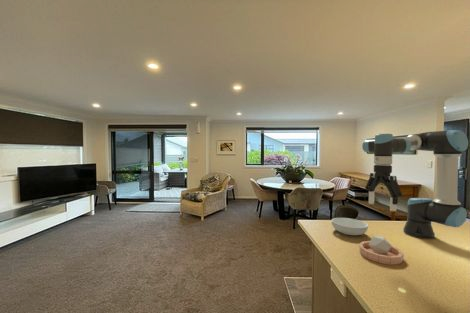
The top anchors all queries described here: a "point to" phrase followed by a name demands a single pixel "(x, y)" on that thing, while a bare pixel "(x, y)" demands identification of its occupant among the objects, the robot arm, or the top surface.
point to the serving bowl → (349, 226)
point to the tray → (391, 258)
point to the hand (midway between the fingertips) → (381, 207)
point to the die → (380, 245)
